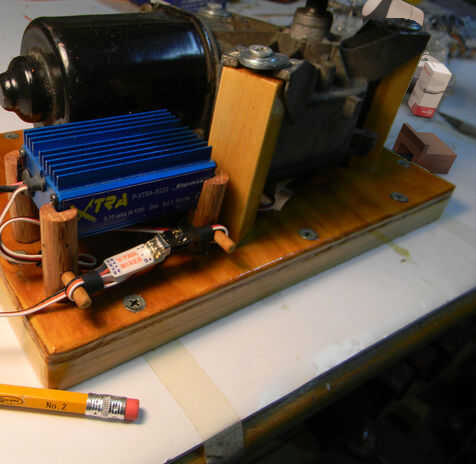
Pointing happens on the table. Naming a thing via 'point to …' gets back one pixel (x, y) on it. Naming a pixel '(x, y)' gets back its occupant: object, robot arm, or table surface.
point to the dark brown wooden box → (425, 149)
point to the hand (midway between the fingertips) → (417, 77)
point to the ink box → (429, 89)
